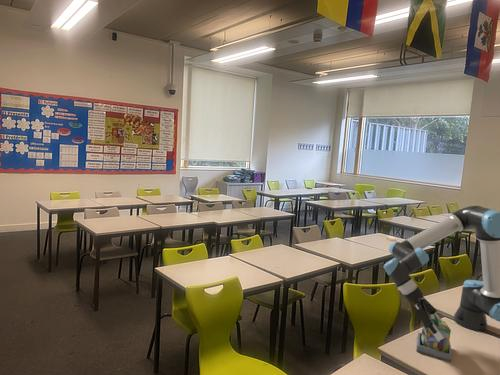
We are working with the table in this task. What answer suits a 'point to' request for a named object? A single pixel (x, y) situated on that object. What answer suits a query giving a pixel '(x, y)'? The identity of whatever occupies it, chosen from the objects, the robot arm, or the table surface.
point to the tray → (433, 350)
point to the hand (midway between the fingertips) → (442, 333)
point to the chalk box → (430, 339)
